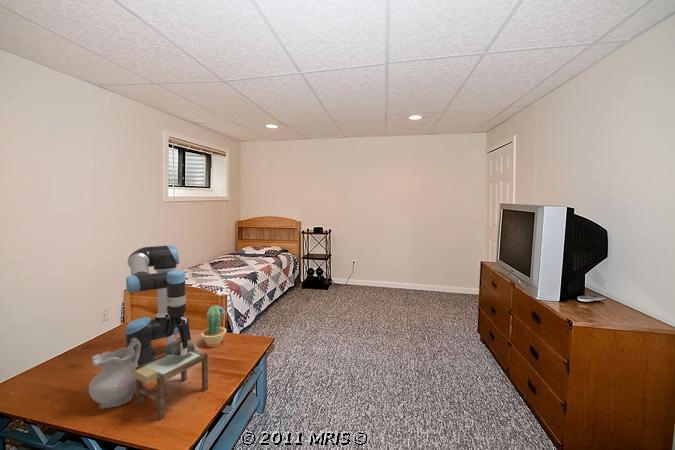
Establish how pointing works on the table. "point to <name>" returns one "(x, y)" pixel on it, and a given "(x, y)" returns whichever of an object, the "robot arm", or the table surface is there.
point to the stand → (160, 380)
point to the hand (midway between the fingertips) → (177, 352)
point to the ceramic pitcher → (115, 376)
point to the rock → (178, 347)
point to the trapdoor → (162, 366)
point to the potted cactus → (214, 327)
